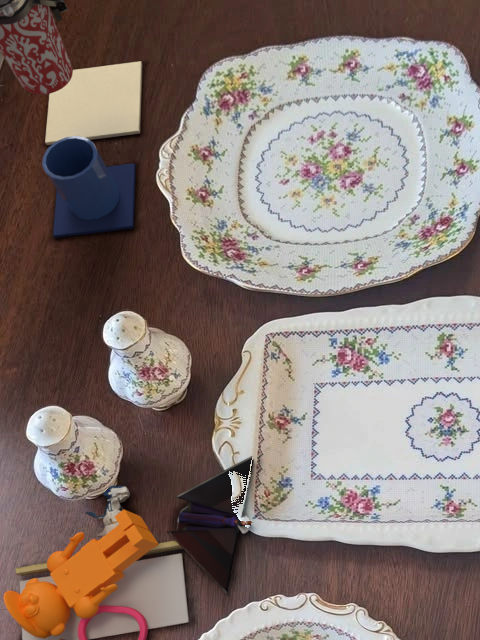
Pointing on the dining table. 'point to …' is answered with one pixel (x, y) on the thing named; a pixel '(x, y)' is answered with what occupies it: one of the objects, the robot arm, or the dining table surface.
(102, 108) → the cream mat
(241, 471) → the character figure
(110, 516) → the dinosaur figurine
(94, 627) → the sign holder
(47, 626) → the toy
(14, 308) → the dining table surface
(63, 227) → the navy mat
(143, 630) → the fitness band
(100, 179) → the blue cup
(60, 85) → the mug
